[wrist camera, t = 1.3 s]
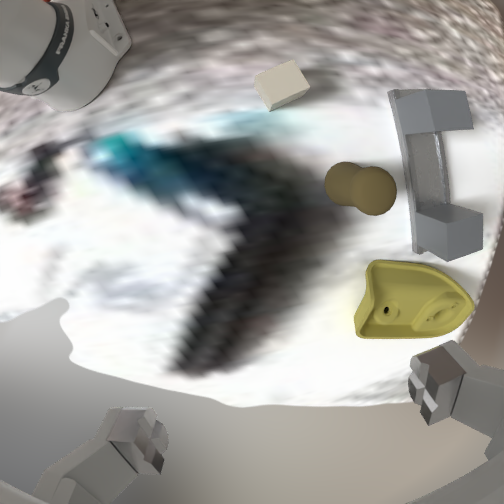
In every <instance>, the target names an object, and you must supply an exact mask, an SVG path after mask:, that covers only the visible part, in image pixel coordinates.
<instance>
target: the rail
mask: <svg viewBox="0 0 504 504" xmlns="http://www.w3.org/2000/svg"><path fill="white" fill-rule="evenodd" d="M423 90H431V89H410V90H398V89H394V90H391V91H389V92H387V93H388V97H389V101H390V104H391V108H392V112H393V117H394V121H395V125H396V130H397V134H398V139H399V144H400V149H401V155H402V160H403V166H404V172H405V179H406V186H407V193H408V202H409V211H410V221H411V233H412V248H413V252H415V253H417V254H419V255H420V254H423V252H426V251H428V250H426V249H424V248H422V247H420V246H419V245H417V236H416V223H415V212H419V211H421V210H424V209H428V208H432V207H437V206H441V205H448V204H450V193H449V183H448V174H447V167H446V160H445V153H444V147H443V141H442V136H441V131H438V132H426V133H416V134H406V135H403V134H402V129H401V125H400V120H399V116H398V112H397V108H396V104H395V100H397V99H399V98H402V97H405V96H408V95H411V94H414V93H417V92H420V91H423Z"/></svg>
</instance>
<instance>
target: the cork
mask: <svg viewBox="0 0 504 504" xmlns="http://www.w3.org/2000/svg"><path fill="white" fill-rule="evenodd" d="M325 189H326V193H327V195H328V196H329V198H330V199H331V200H332V201H333V202H334V203H336V204H338V205H341V206H354V207H357V208H358V209H359V210H360V211H361V212H363V213H365V214H367V215H373V216H377V215H381V214H384V213H386V212H387V211H388V210H390V208H391V207H392V206H393V205H394V202H395V200H396V194H397V189H396V183H395V181H394V179H393V177H392V176H391V175H390V174H389V173H388V172H387V171H385V170H384V169H382V168H380V167H372V166H371V167H366V168H362V167H360V166H357V165H355V164H353V163H350V162H341V163H337V164H336V165H334V166H332V167H331V169H330V170H329V171H328V172H327V175H326V177H325Z"/></svg>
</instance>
